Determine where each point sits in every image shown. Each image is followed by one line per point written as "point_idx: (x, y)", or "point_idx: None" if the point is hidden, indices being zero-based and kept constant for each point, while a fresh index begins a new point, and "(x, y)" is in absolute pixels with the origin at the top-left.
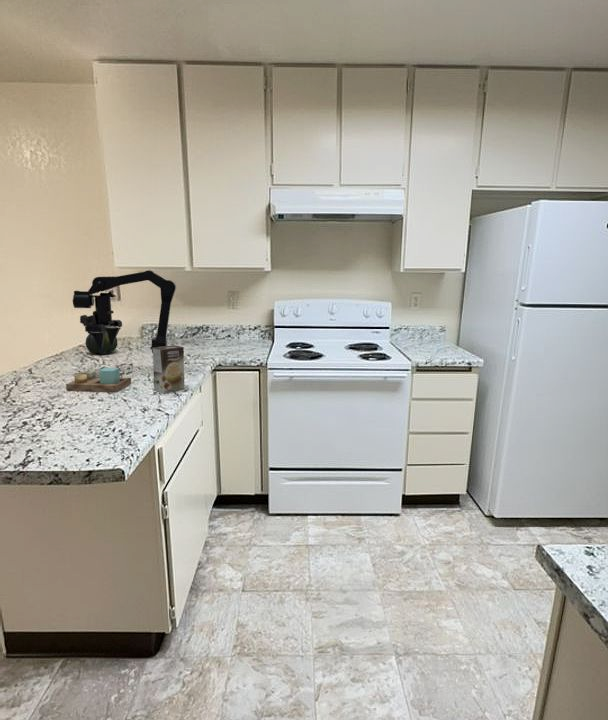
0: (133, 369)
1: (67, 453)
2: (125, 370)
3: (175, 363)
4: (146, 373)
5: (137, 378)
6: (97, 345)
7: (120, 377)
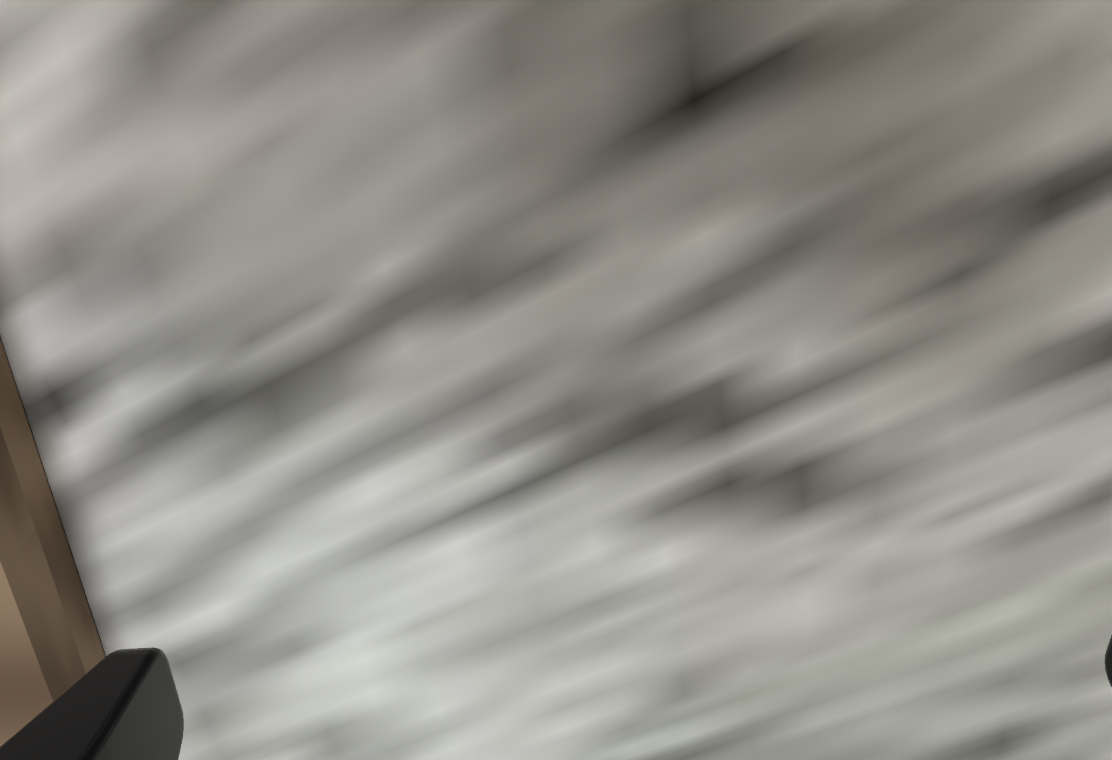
0: (1028, 442)
1: None
2: (955, 353)
3: None
4: (747, 703)
5: (440, 717)
6: (1, 752)
7: None
